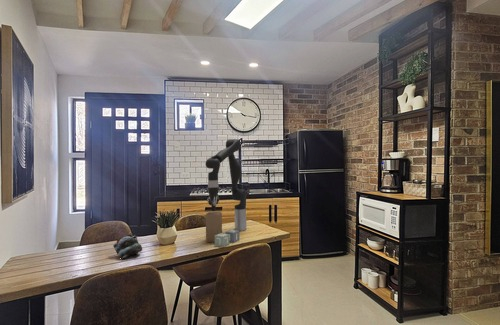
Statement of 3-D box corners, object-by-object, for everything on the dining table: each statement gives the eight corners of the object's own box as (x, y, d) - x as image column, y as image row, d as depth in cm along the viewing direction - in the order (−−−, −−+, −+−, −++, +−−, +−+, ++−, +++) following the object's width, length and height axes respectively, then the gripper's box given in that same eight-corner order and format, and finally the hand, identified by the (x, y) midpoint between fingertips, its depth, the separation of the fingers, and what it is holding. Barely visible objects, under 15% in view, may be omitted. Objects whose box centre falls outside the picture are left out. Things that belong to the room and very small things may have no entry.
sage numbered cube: (221, 243, 203) (221, 232, 203) (229, 244, 199) (229, 234, 199) (214, 245, 197) (214, 235, 197) (222, 247, 193) (222, 236, 193)
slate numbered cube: (231, 239, 213) (231, 229, 213) (239, 240, 209) (239, 230, 209) (225, 241, 207) (225, 231, 207) (233, 243, 203) (233, 232, 203)
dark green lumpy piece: (116, 261, 168) (109, 238, 172) (119, 263, 179) (113, 241, 183) (142, 250, 174) (135, 228, 178) (144, 252, 185) (137, 232, 189)
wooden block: (222, 238, 214) (221, 211, 214) (219, 242, 204) (219, 214, 204) (209, 238, 215) (208, 211, 215) (205, 242, 205) (205, 214, 205)
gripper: (215, 185, 217) (215, 209, 217) (203, 187, 206) (203, 211, 206) (223, 186, 213) (223, 209, 213) (211, 187, 202) (211, 212, 202)
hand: (213, 210), depth 209 cm, fingers closed
